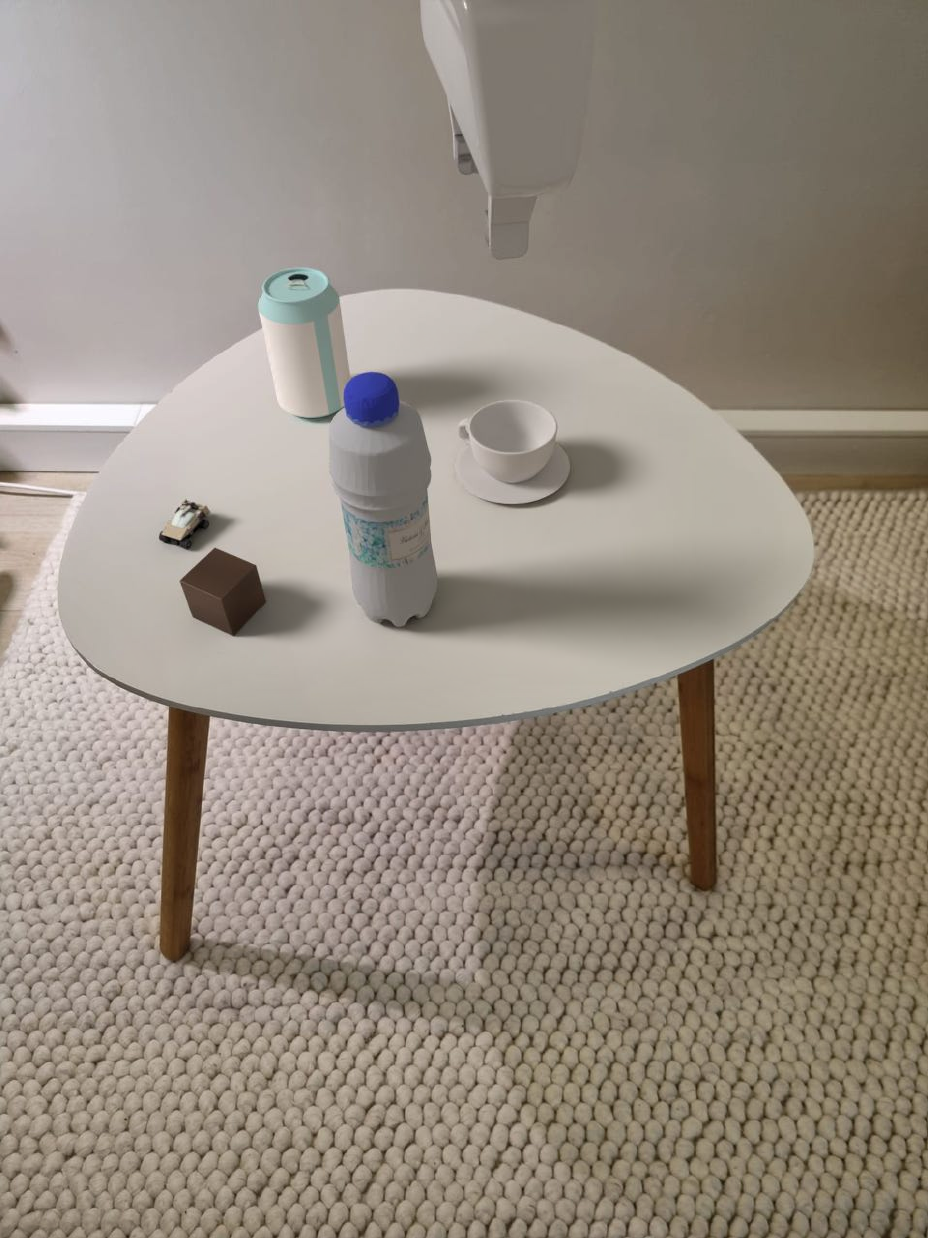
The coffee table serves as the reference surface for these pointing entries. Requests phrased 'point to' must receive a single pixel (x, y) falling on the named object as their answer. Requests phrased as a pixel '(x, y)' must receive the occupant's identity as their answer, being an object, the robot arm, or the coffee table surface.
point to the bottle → (384, 499)
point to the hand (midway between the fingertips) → (488, 207)
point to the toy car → (185, 524)
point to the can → (305, 341)
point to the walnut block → (223, 591)
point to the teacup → (511, 453)
